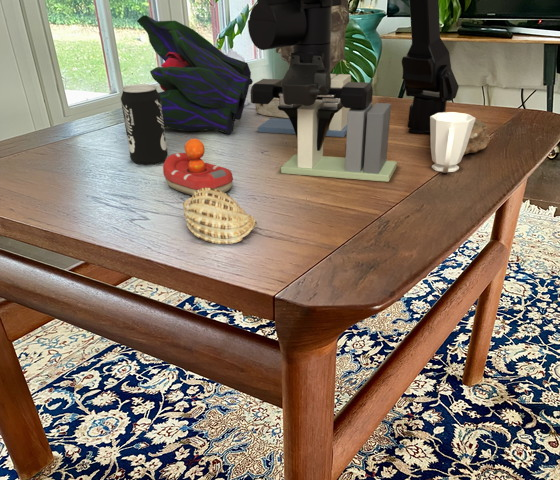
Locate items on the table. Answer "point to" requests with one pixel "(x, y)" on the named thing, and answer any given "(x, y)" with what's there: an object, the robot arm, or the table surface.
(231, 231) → the seashell
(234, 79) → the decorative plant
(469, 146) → the rock
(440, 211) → the table surface
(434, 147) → the cup
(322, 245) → the table surface
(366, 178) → the green base board
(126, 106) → the beverage can
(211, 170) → the toy boat
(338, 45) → the sculpture
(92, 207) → the table surface
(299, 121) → the white box
